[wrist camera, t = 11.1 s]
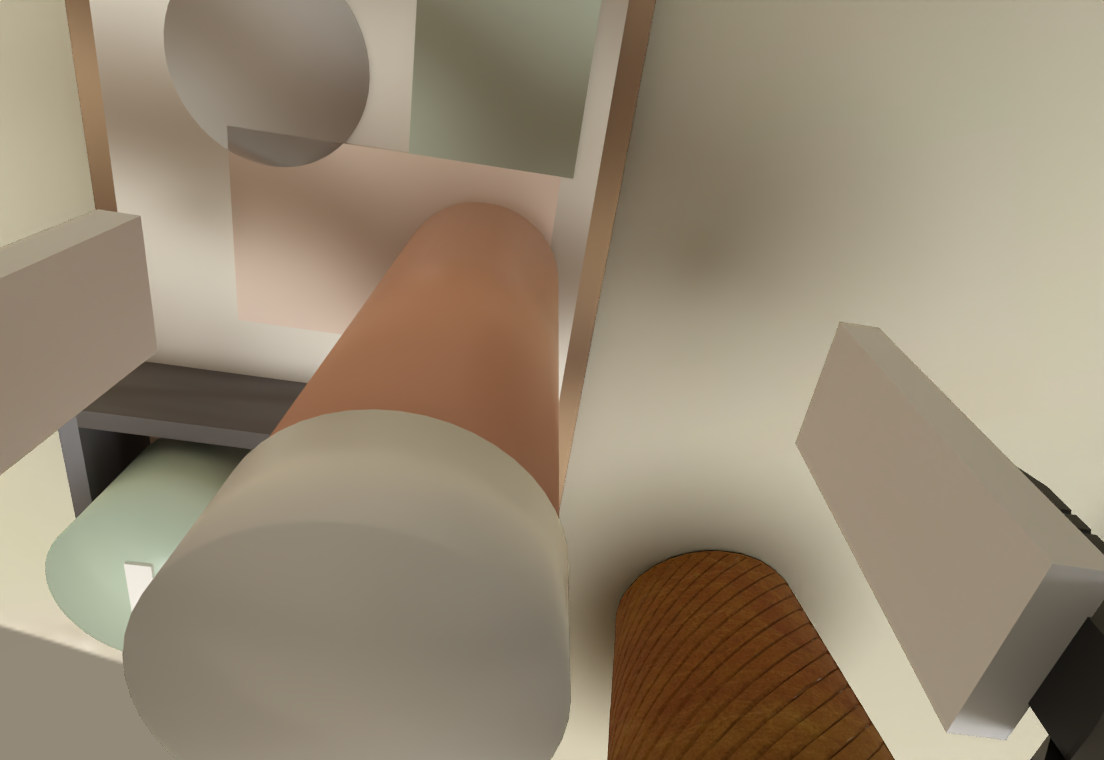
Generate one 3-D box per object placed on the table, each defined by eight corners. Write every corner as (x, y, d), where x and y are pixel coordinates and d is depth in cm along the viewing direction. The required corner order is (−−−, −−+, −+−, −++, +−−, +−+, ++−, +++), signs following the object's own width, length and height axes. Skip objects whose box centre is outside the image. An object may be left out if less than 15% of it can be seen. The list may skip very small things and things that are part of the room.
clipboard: (60, -153, 15) (-75, -202, 12) (662, -48, 15) (687, -67, 12) (153, 521, 23) (88, 599, 20) (546, 568, 24) (544, 651, 20)
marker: (411, 176, 17) (89, 492, 5) (573, 199, 17) (606, 552, 6) (403, 327, 19) (150, 812, 7) (550, 346, 19) (539, 848, 7)
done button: (121, 420, 18) (25, 507, 15) (291, 442, 19) (232, 532, 15) (141, 550, 20) (60, 651, 17) (294, 568, 20) (243, 672, 17)
